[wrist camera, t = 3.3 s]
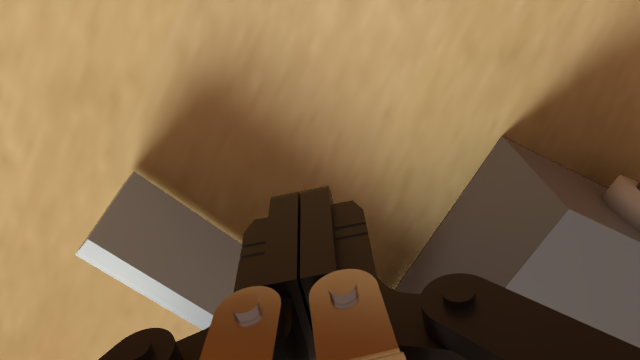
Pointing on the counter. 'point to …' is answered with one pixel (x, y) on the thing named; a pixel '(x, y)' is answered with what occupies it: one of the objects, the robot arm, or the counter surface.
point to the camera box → (544, 239)
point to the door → (164, 251)
